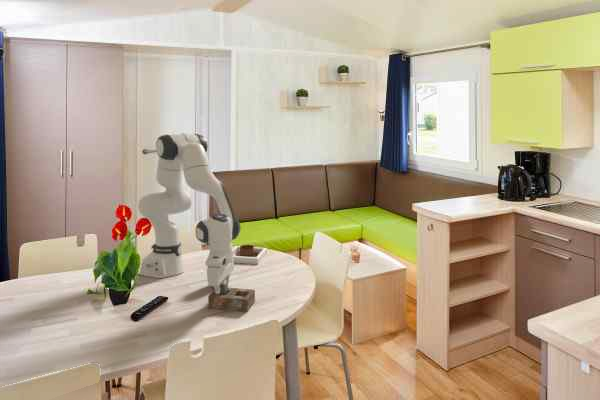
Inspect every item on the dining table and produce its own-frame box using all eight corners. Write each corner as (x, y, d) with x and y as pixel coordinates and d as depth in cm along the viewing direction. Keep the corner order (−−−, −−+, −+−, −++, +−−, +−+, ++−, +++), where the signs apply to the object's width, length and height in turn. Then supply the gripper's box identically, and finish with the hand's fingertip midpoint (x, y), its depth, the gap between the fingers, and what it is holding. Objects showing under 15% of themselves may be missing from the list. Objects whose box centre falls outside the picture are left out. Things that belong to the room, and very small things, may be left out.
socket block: (208, 308, 175) (207, 296, 174) (217, 298, 185) (217, 286, 184) (247, 312, 172) (247, 299, 171) (254, 301, 182) (254, 289, 181)
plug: (216, 303, 178) (216, 282, 176) (219, 299, 181) (219, 278, 180) (225, 303, 177) (224, 282, 175) (228, 300, 181) (227, 279, 179)
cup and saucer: (238, 254, 243) (238, 243, 242) (260, 254, 242) (260, 243, 240) (233, 261, 231) (232, 249, 230) (255, 262, 230) (255, 250, 229)
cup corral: (224, 261, 230) (224, 256, 229) (235, 251, 247) (235, 246, 246) (258, 264, 226) (258, 258, 226) (267, 253, 244) (267, 248, 243)
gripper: (222, 247, 186) (223, 278, 189) (203, 263, 166) (204, 297, 169) (237, 248, 185) (237, 279, 188) (219, 264, 165) (220, 299, 168)
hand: (222, 288), depth 178 cm, fingers open, 8 cm apart
